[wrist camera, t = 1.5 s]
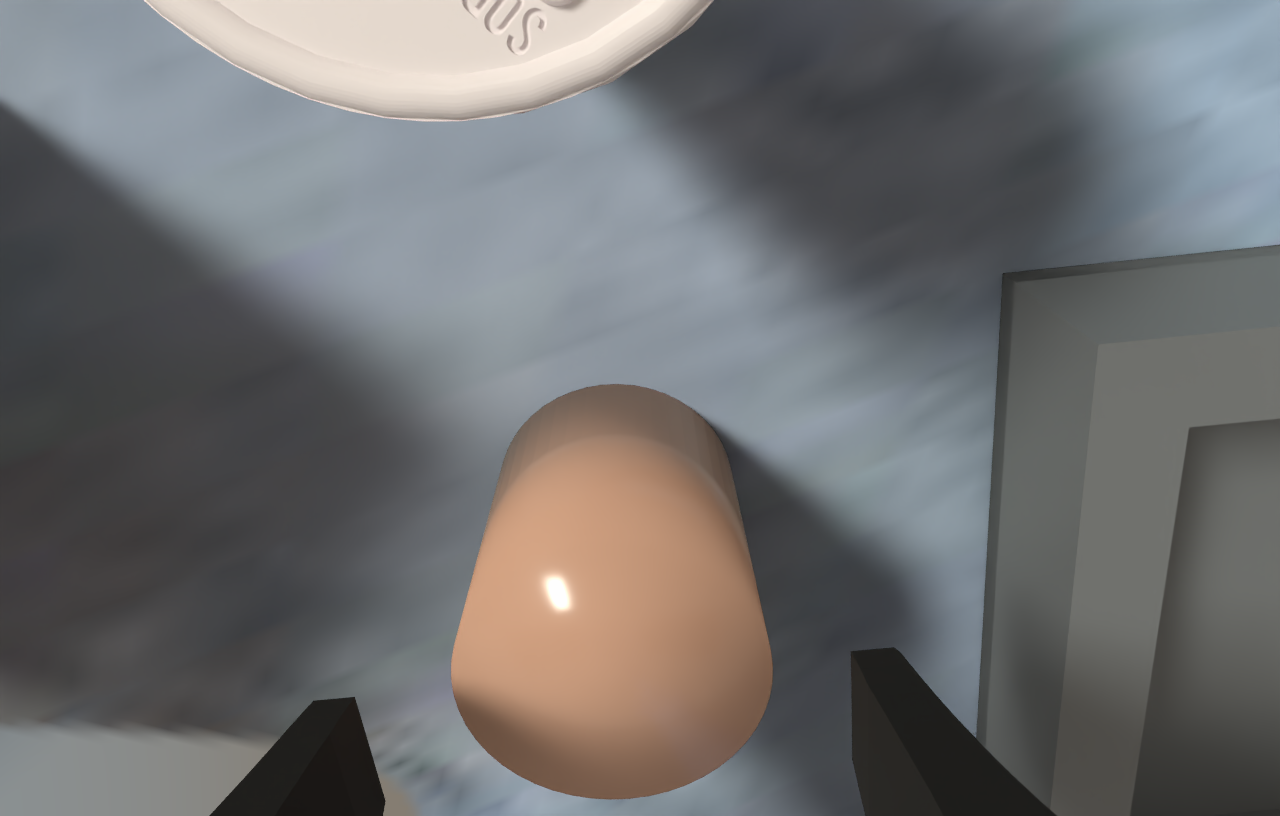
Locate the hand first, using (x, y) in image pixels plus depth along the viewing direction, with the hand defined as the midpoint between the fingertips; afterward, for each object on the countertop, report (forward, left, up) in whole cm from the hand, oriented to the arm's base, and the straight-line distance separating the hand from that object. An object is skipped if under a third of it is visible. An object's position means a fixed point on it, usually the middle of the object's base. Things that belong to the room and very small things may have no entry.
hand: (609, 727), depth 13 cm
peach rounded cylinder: (0, 0, -7) cm, 7 cm away
